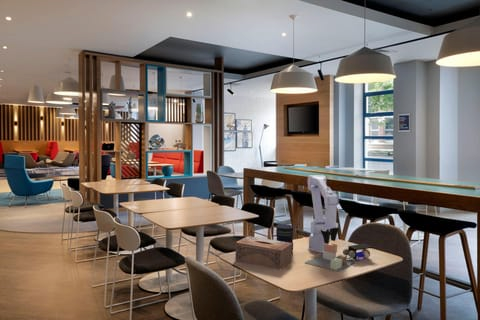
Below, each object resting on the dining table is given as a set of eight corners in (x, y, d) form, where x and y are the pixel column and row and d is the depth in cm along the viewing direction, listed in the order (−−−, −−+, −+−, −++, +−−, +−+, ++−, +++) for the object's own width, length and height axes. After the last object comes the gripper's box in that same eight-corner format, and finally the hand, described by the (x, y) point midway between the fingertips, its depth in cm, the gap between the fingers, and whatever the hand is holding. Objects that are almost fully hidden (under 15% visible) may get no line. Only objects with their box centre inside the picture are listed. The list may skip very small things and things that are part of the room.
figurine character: (351, 264, 198) (373, 259, 204) (350, 250, 197) (372, 245, 203) (342, 261, 204) (364, 255, 210) (342, 247, 203) (364, 242, 209)
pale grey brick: (322, 258, 204) (323, 250, 203) (325, 256, 206) (325, 249, 206) (333, 260, 200) (333, 253, 200) (335, 259, 202) (336, 251, 202)
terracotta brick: (323, 251, 203) (324, 243, 203) (326, 249, 205) (326, 242, 205) (334, 253, 199) (334, 246, 199) (336, 252, 202) (337, 244, 201)
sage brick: (336, 270, 186) (336, 262, 186) (330, 268, 188) (330, 260, 188) (341, 266, 190) (341, 259, 190) (335, 265, 192) (336, 257, 192)
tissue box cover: (291, 261, 199) (292, 243, 198) (281, 270, 186) (281, 250, 185) (247, 253, 211) (248, 236, 210) (235, 260, 198) (235, 242, 197)
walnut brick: (341, 266, 191) (341, 258, 191) (335, 264, 194) (336, 257, 193) (346, 263, 196) (346, 255, 196) (340, 261, 198) (341, 254, 198)
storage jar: (272, 252, 213) (272, 226, 212) (281, 248, 221) (282, 223, 220) (286, 256, 207) (287, 229, 206) (296, 252, 214) (297, 226, 213)
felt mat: (304, 263, 196) (304, 262, 196) (323, 254, 211) (323, 253, 211) (339, 272, 184) (339, 271, 184) (355, 262, 199) (355, 261, 199)
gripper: (331, 220, 193) (330, 246, 194) (343, 216, 204) (342, 240, 205) (319, 218, 198) (318, 243, 199) (331, 214, 209) (330, 238, 210)
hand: (329, 242), depth 202 cm, fingers open, 7 cm apart
